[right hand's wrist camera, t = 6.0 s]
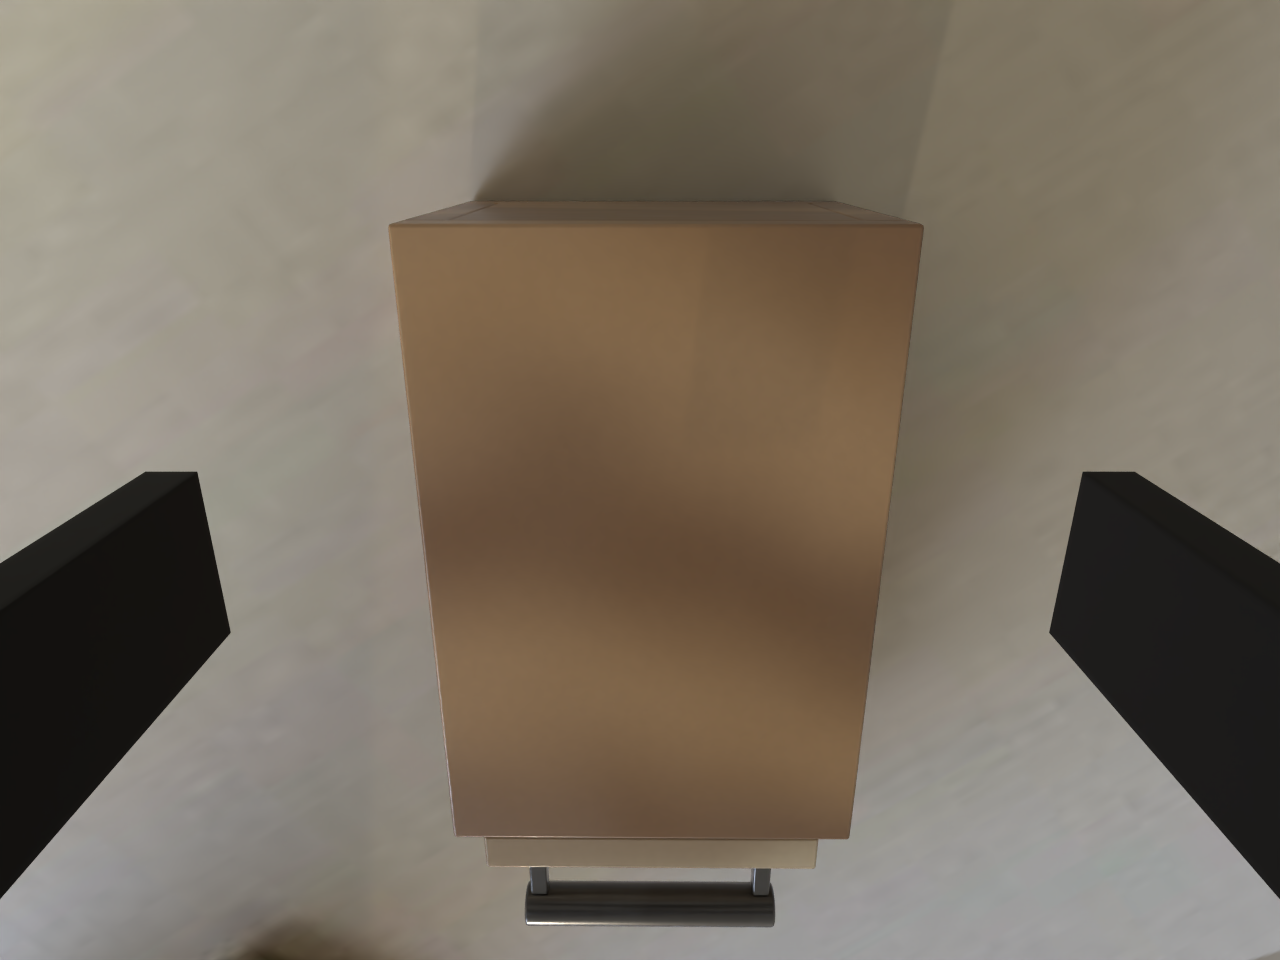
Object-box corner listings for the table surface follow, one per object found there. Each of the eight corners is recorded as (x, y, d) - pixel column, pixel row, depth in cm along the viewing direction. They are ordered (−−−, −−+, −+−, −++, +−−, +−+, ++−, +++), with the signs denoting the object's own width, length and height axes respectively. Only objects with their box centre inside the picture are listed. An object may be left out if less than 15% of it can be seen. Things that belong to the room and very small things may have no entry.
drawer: (773, 845, 33) (802, 1000, 27) (525, 844, 33) (498, 997, 27) (814, 323, 26) (867, 377, 19) (490, 322, 26) (441, 376, 20)
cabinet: (798, 665, 31) (849, 840, 23) (502, 664, 31) (453, 838, 23) (837, 201, 25) (925, 224, 17) (468, 200, 25) (386, 224, 17)
